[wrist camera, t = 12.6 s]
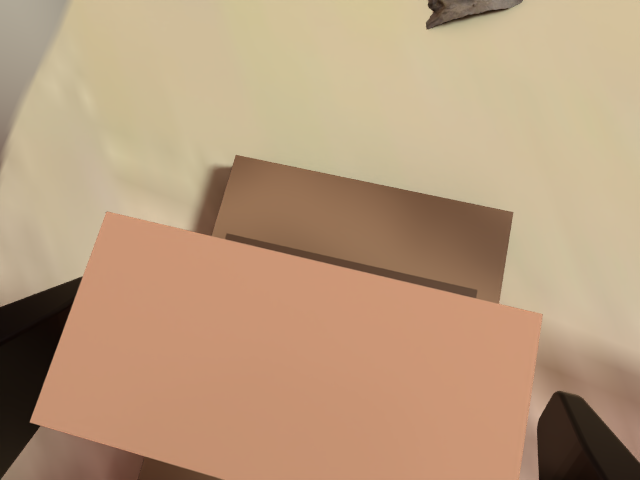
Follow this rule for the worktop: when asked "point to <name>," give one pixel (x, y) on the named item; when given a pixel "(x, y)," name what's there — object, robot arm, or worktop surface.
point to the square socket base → (359, 237)
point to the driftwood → (463, 8)
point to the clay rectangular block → (285, 365)
